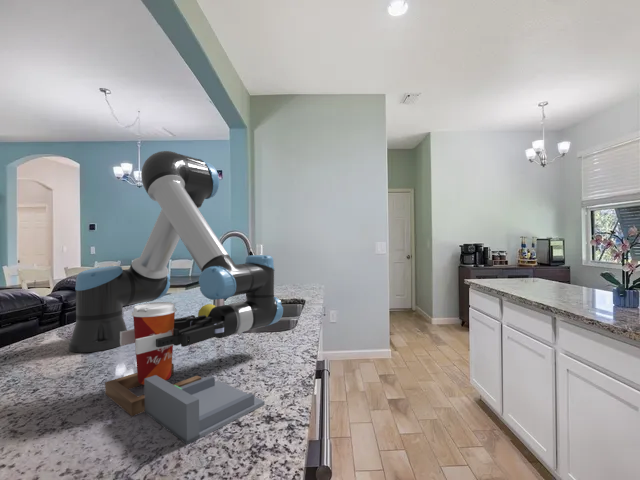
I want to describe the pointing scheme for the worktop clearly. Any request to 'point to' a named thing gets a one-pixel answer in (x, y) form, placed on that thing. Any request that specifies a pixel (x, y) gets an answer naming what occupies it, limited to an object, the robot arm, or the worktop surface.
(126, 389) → the wooden u-shaped frame
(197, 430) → the port dock
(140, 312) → the coffee cup
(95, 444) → the worktop surface
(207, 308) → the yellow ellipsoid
